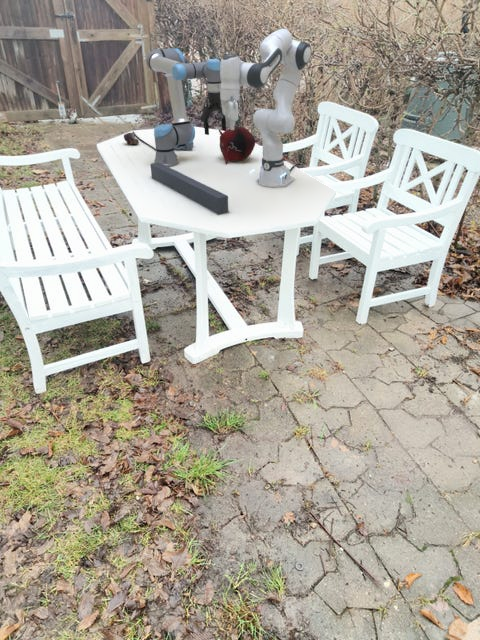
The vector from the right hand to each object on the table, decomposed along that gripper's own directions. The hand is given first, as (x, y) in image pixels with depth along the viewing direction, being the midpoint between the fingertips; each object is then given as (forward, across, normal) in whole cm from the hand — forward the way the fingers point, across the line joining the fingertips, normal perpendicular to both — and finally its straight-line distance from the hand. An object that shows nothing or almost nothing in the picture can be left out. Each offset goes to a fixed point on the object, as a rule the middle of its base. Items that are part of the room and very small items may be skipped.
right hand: (230, 127), depth 213 cm
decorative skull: (+35, +81, -22) cm, 91 cm away
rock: (+36, +141, +47) cm, 153 cm away
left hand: (+12, +50, -2) cm, 51 cm away
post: (+37, +21, +20) cm, 47 cm away
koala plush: (+35, +120, +12) cm, 126 cm away
